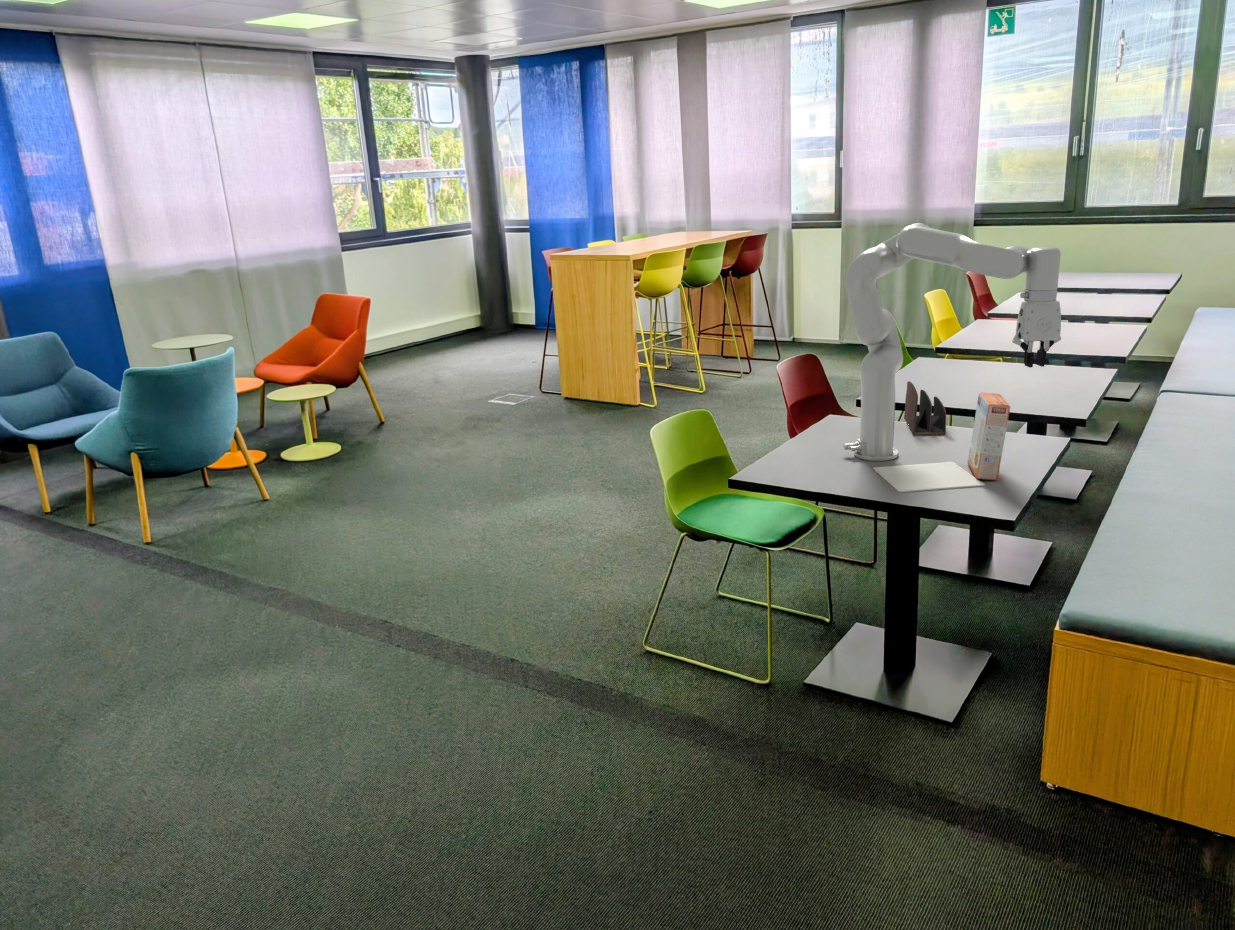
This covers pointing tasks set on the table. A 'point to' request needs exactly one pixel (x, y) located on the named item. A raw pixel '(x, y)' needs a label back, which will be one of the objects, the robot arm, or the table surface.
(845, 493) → the table surface
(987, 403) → the cracker box
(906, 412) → the letter holder
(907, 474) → the mat
